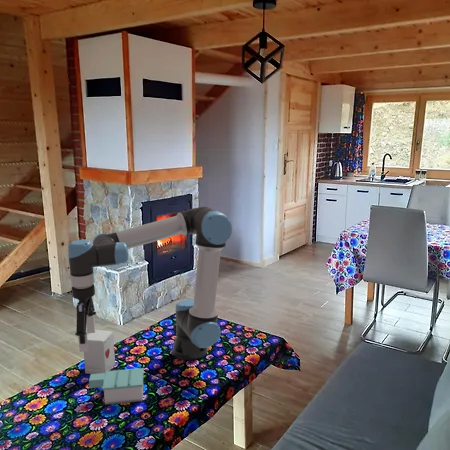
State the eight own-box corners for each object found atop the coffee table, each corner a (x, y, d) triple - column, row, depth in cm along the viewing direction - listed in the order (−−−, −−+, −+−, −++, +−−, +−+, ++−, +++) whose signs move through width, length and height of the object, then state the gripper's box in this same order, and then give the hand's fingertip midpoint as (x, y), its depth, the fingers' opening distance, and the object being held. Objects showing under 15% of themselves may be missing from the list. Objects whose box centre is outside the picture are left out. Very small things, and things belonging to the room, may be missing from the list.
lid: (143, 372, 160) (143, 364, 159) (142, 389, 149) (142, 381, 149) (92, 376, 157) (92, 369, 156) (88, 394, 147) (87, 386, 146)
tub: (143, 384, 160) (142, 370, 159) (142, 401, 151) (141, 386, 150) (108, 388, 159) (107, 373, 157) (105, 404, 149) (103, 389, 148)
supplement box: (105, 376, 166) (103, 341, 163) (84, 373, 168) (81, 339, 165) (116, 364, 175) (113, 330, 172) (96, 361, 177) (93, 328, 173)
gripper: (79, 273, 157) (83, 326, 162) (62, 299, 133) (68, 360, 138) (100, 272, 158) (104, 325, 163) (87, 298, 134) (92, 359, 138)
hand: (87, 341), depth 150 cm, fingers open, 13 cm apart
